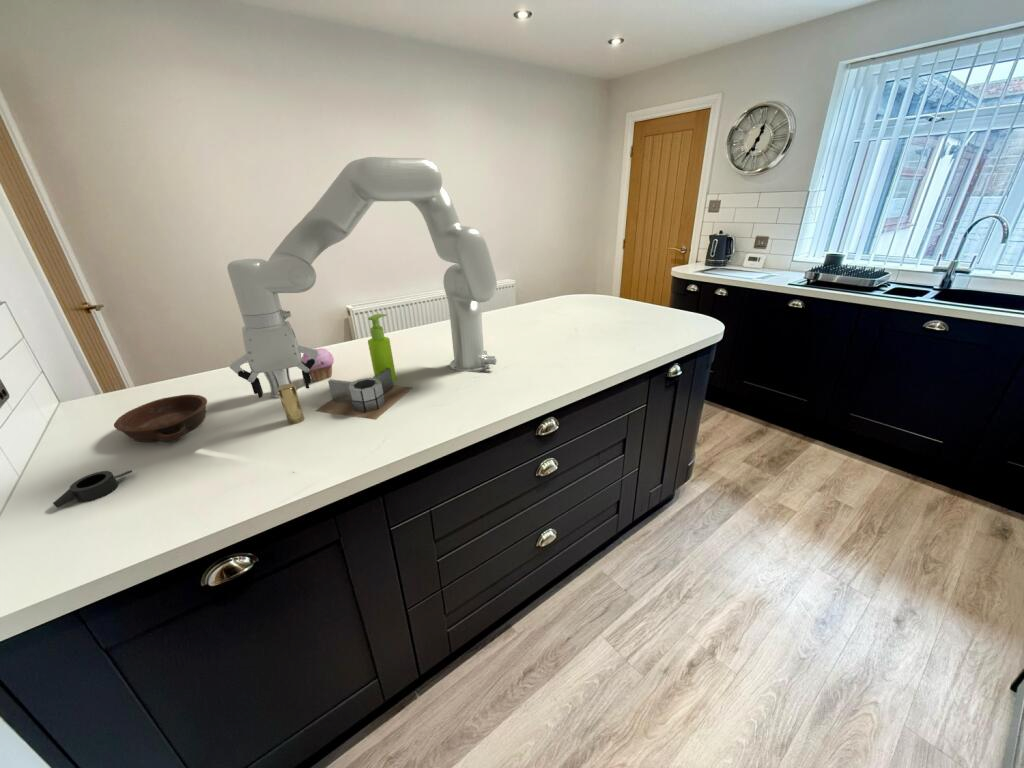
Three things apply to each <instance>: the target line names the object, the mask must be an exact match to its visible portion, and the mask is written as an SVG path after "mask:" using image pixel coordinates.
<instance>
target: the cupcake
mask: <svg viewBox="0 0 1024 768" xmlns="http://www.w3.org/2000/svg"><path fill="white" fill-rule="evenodd" d="M313 349H314V350H317V352H318V355H317V358H316V360H315V364H314V365H313V366H312V368H311V369H310V371H309V374H310V378H311V381H314V382H315V383H317V382H322V381H325V380H326V379H327V380H328V379H330V378H331V377H332V375H333V365H334V357H333V353H331V352H330V351H329V350H328V349H327V348H324V347H323V348H313ZM309 359H310V355H308V354H304V353H302V355H301V360H302V361H303V362H305V363H306V362H307V361H308V360H309Z"/></svg>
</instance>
